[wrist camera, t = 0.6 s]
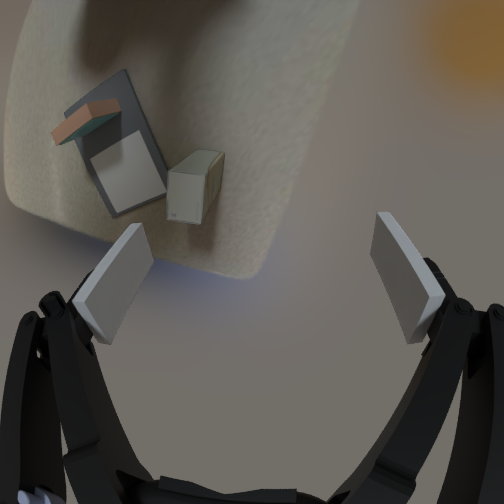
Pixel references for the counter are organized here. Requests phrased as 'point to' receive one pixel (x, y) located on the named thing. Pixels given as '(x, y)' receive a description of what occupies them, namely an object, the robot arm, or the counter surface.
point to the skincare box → (194, 186)
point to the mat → (122, 150)
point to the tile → (85, 120)
